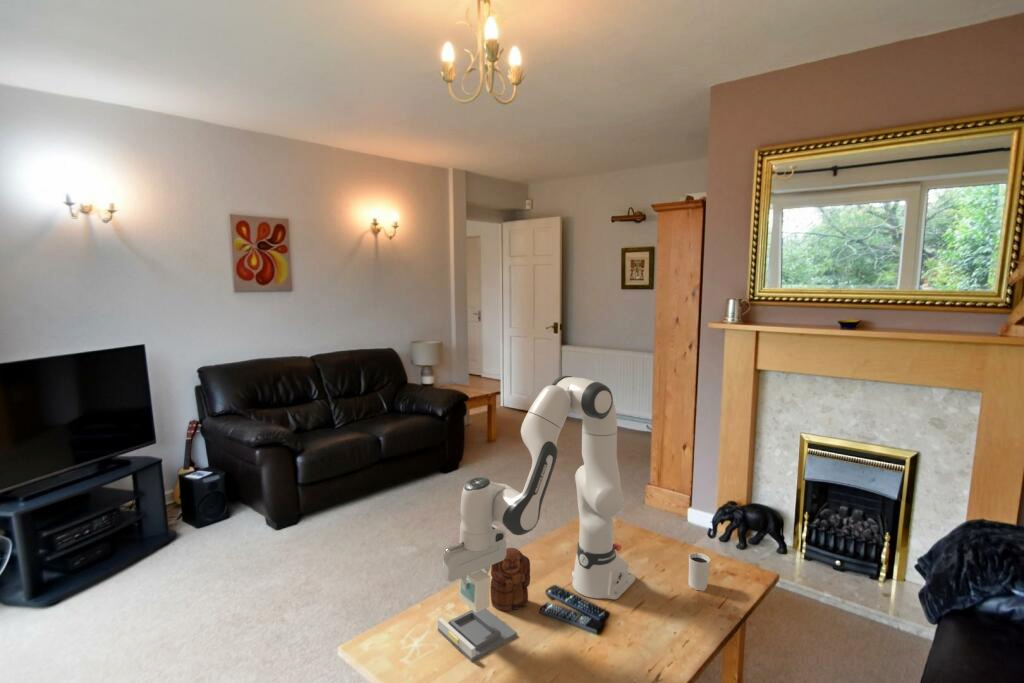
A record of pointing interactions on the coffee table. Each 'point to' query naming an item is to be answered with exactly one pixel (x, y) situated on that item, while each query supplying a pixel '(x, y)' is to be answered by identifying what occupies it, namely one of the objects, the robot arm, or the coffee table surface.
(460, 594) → the product carton
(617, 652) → the coffee table surface
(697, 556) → the white cup
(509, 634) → the display base
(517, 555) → the wooden figurine
